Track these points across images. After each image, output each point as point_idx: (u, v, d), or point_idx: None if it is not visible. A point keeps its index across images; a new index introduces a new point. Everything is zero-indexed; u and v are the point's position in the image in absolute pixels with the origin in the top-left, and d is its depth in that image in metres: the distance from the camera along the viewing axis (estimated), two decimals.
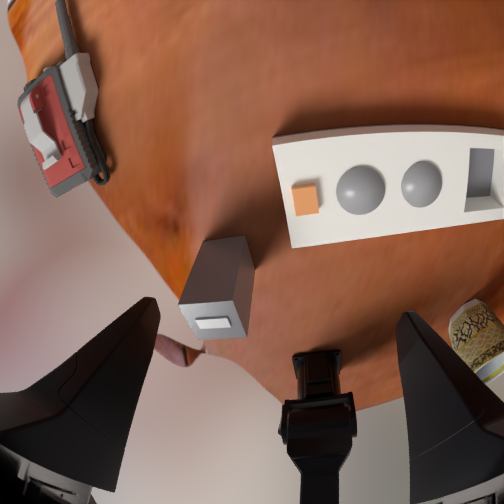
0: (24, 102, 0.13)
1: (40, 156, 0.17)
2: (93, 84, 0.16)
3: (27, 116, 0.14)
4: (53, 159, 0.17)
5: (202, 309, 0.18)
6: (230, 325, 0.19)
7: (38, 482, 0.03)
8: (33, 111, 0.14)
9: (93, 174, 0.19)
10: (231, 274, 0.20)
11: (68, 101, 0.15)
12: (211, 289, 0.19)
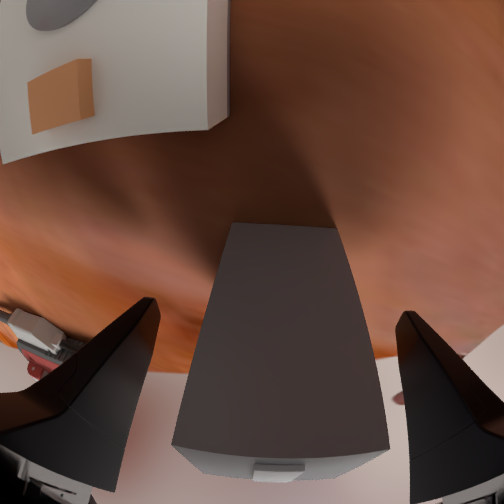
0: None
1: None
2: (34, 320, 0.16)
3: None
4: None
5: (217, 469, 0.05)
6: (298, 468, 0.04)
7: (38, 482, 0.03)
8: None
9: None
10: None
11: (41, 349, 0.16)
12: None
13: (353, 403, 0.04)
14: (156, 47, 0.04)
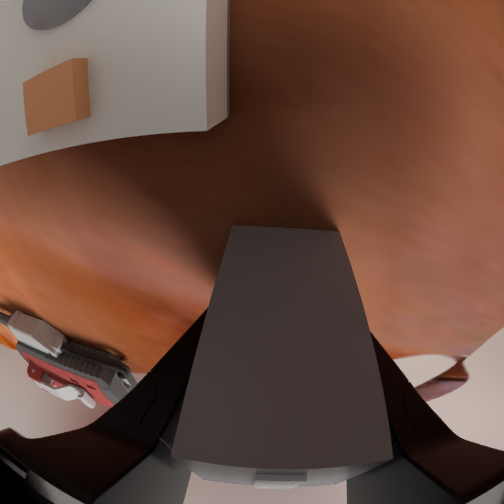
0: (35, 382, 0.16)
1: None
2: (35, 323, 0.16)
3: (44, 388, 0.16)
4: (80, 398, 0.15)
5: (218, 476, 0.05)
6: (300, 478, 0.04)
7: (38, 482, 0.03)
8: (40, 382, 0.16)
9: (109, 378, 0.16)
10: None
11: (42, 352, 0.16)
12: None
13: (356, 412, 0.04)
14: (153, 45, 0.04)
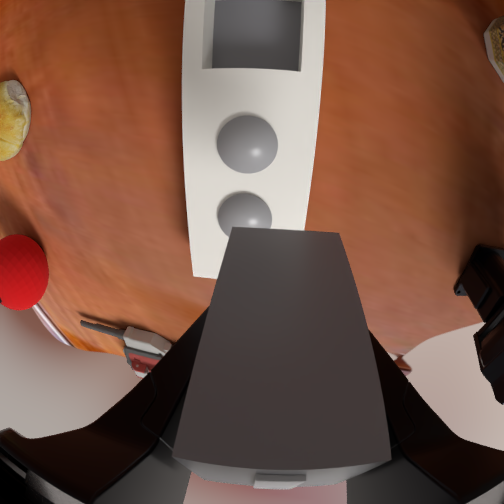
0: (136, 373, 0.31)
1: None
2: (149, 335, 0.31)
3: None
4: None
5: (218, 477, 0.05)
6: (299, 478, 0.04)
7: (38, 482, 0.03)
8: (144, 373, 0.31)
9: None
10: None
11: (152, 353, 0.31)
12: None
13: (355, 414, 0.04)
14: None
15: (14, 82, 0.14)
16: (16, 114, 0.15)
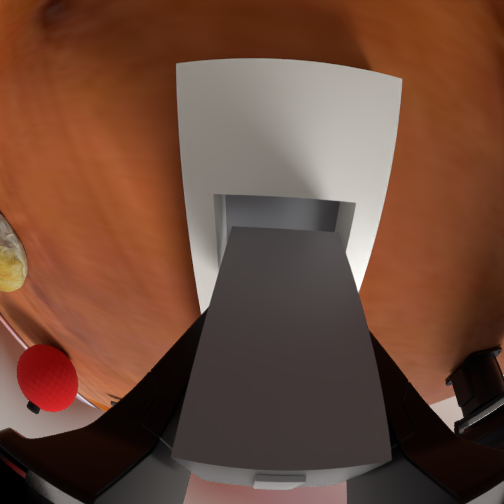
0: None
1: None
2: None
3: None
4: None
5: (217, 477, 0.05)
6: (299, 479, 0.04)
7: (38, 482, 0.03)
8: None
9: None
10: None
11: None
12: None
13: (355, 414, 0.04)
14: None
15: None
16: (10, 261, 0.16)
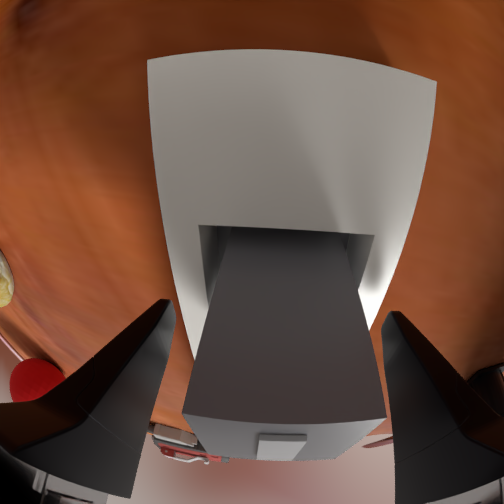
0: (165, 455, 0.30)
1: None
2: (177, 432, 0.30)
3: (174, 458, 0.30)
4: (206, 462, 0.30)
5: (223, 445, 0.06)
6: (301, 438, 0.05)
7: (38, 482, 0.03)
8: (173, 457, 0.30)
9: None
10: None
11: (180, 444, 0.30)
12: None
13: (351, 374, 0.05)
14: None
15: None
16: None
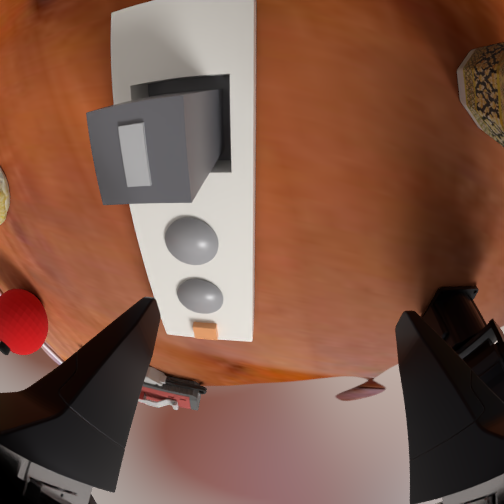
0: None
1: None
2: None
3: (143, 402, 0.34)
4: (174, 405, 0.34)
5: (106, 166, 0.09)
6: (139, 123, 0.08)
7: (38, 482, 0.03)
8: (143, 399, 0.34)
9: (196, 394, 0.34)
10: None
11: (149, 383, 0.34)
12: None
13: (175, 95, 0.08)
14: (238, 326, 0.22)
15: None
16: None
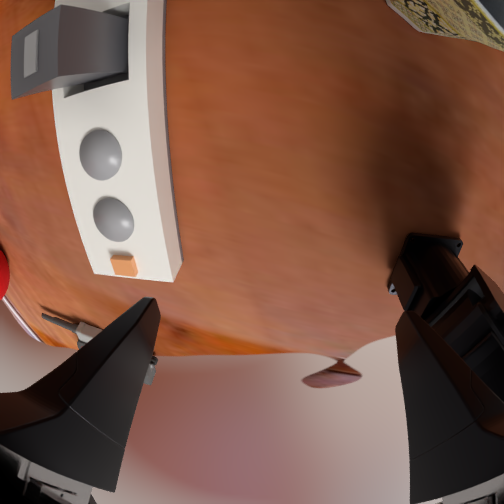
0: None
1: None
2: (98, 331, 0.31)
3: None
4: None
5: (16, 68, 0.07)
6: (36, 30, 0.06)
7: (38, 482, 0.03)
8: None
9: None
10: None
11: None
12: None
13: None
14: (154, 259, 0.20)
15: None
16: None
